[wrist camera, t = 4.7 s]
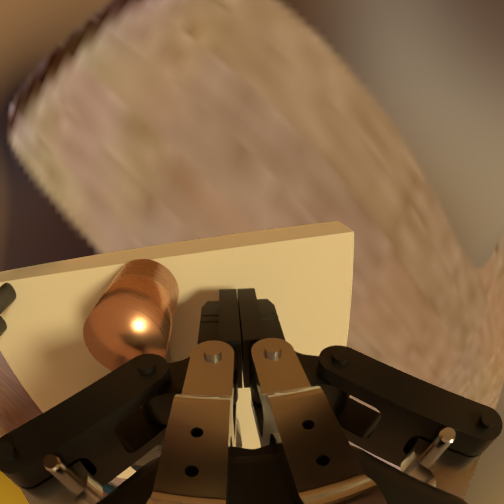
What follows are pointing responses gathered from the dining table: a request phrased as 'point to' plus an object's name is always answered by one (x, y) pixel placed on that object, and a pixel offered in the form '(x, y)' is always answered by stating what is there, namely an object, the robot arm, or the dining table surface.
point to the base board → (178, 303)
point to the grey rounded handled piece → (135, 322)
